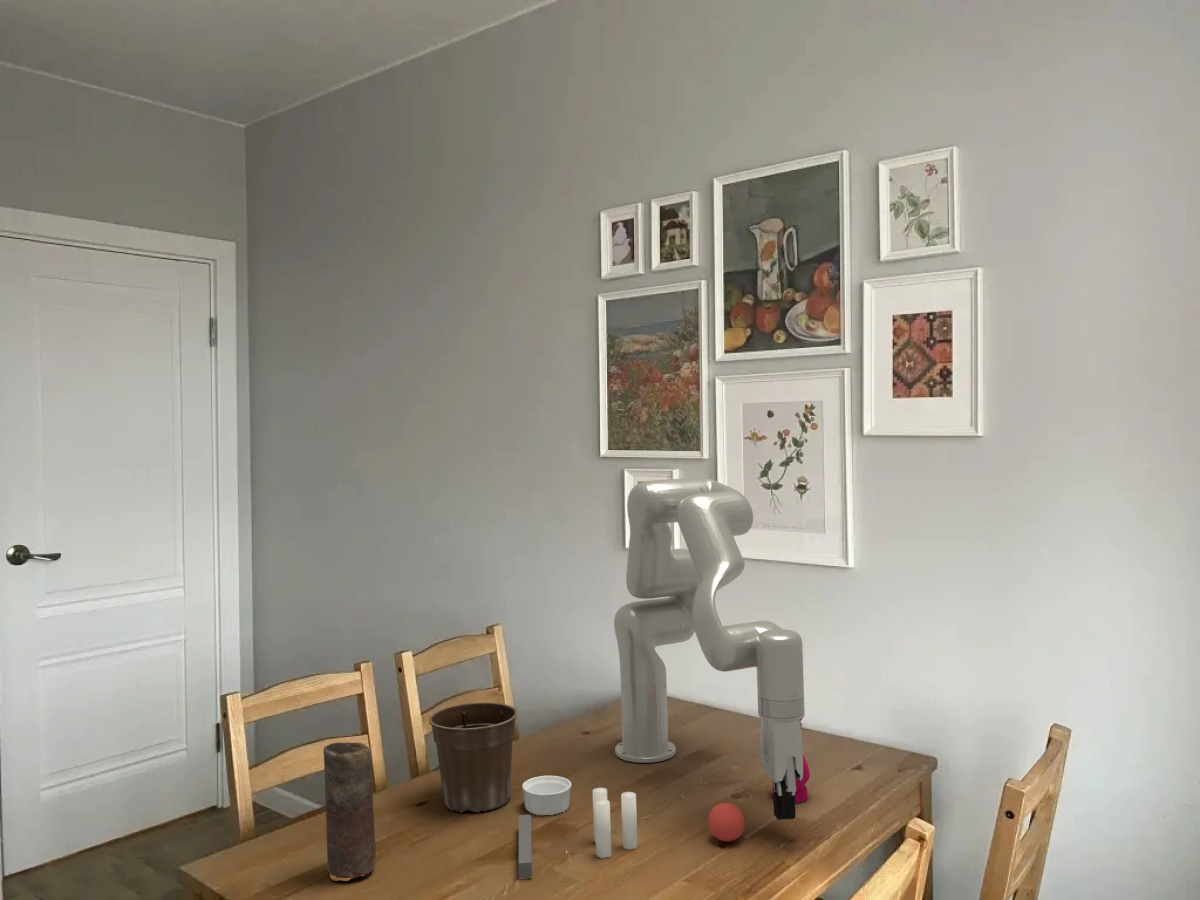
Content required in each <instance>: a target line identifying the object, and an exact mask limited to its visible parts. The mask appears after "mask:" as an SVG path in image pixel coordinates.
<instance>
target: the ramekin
mask: <svg viewBox="0 0 1200 900" xmlns="http://www.w3.org/2000/svg"><path fill="white" fill-rule="evenodd" d="M521 788H522V792H523V799H524V800H523V801H524V808H525V809H526V811H527V810H528V811H529V813H530V812H531V813H534V814H538V815H537V816H539V815H551V816H554V815H553V814H557V815H559V814H558V813H560V814H562V813H561V812H563V813H565V812H566V811H567V810H569V807H570V801H571V799H570V798H571V789H572V782H571V780H569V779H567V778H566V777H563V776H557V775H541V776H535V777H532V778H528V779H527V780H525V781H524V782H523V783H522V785H521ZM565 810H566V811H565ZM528 811H527V812H528ZM531 813H530V814H531ZM534 814H533V815H534Z"/></svg>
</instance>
